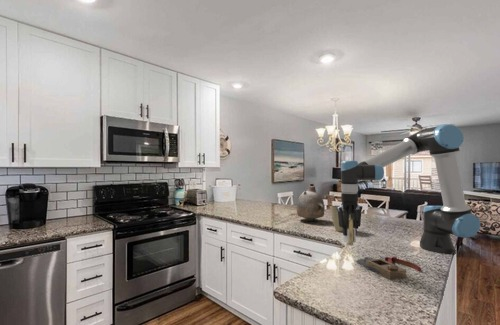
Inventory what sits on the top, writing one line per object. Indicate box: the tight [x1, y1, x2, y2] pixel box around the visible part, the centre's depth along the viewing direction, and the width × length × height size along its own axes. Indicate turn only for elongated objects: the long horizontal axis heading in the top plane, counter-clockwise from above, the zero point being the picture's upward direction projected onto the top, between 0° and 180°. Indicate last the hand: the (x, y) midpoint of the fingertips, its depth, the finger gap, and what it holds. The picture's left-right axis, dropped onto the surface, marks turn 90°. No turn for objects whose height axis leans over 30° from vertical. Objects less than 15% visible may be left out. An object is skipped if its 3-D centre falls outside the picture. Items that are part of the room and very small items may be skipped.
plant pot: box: [329, 205, 351, 233], centre depth 176 cm, size 15×15×16 cm
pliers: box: [377, 253, 422, 272], centre depth 117 cm, size 12×20×3 cm, turn 6°
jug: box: [296, 182, 325, 222], centre depth 205 cm, size 24×21×30 cm
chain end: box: [357, 256, 383, 275], centre depth 111 cm, size 8×13×2 cm, turn 17°
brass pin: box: [346, 219, 354, 246], centre depth 123 cm, size 3×3×12 cm
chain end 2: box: [366, 257, 407, 281], centre depth 106 cm, size 8×13×4 cm, turn 17°
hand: (349, 241), depth 123 cm, fingers closed on brass pin, 3 cm apart
